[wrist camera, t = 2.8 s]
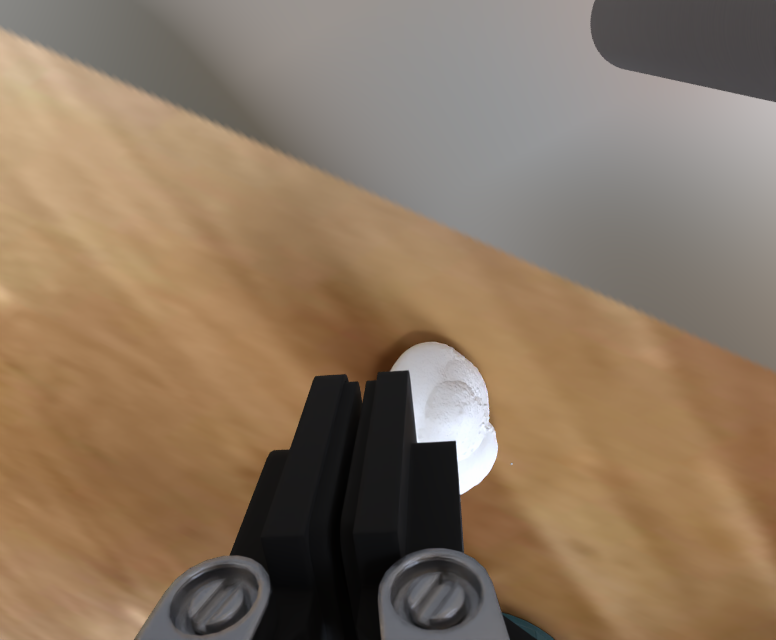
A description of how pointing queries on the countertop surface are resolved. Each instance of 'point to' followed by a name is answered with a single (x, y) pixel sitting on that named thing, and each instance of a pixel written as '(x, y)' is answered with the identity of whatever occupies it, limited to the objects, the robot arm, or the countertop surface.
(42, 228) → the countertop surface
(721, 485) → the countertop surface
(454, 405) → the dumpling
